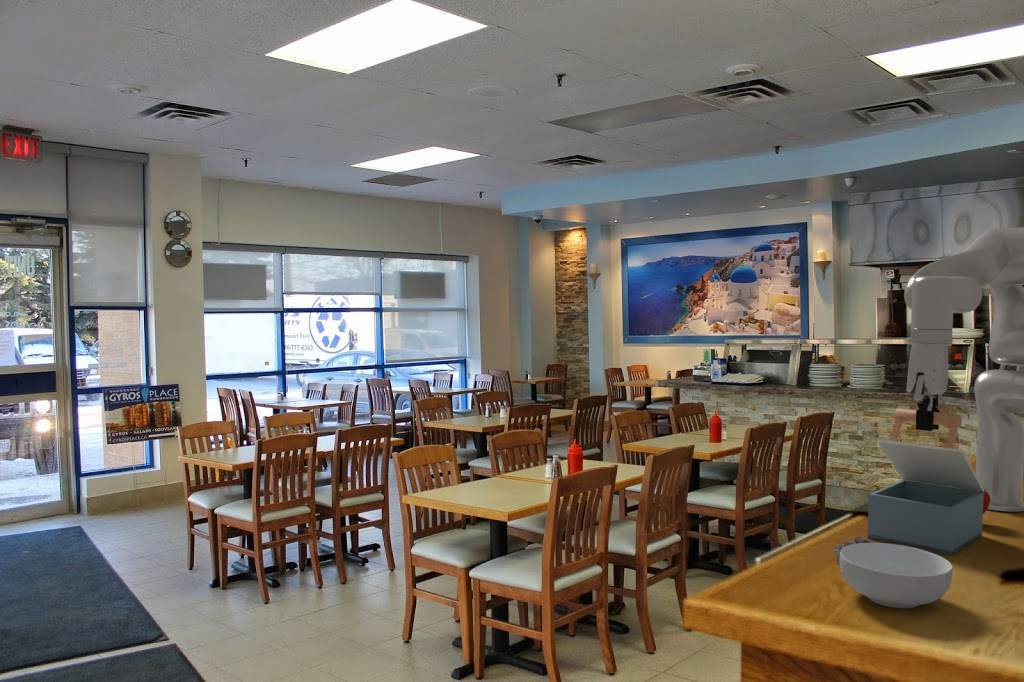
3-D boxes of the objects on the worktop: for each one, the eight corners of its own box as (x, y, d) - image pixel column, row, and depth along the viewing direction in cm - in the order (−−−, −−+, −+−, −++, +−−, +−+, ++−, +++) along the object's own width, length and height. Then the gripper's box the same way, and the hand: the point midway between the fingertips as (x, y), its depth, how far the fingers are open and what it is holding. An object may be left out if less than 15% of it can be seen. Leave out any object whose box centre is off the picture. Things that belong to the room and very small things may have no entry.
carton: (901, 520, 187) (902, 479, 186) (981, 535, 176) (983, 492, 175) (867, 537, 174) (868, 494, 174) (951, 555, 163) (953, 508, 162)
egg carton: (868, 576, 153) (868, 553, 152) (828, 565, 158) (829, 543, 158) (896, 563, 159) (897, 541, 159) (857, 553, 165) (858, 532, 165)
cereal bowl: (896, 626, 129) (898, 580, 129) (816, 590, 145) (817, 549, 144) (975, 609, 136) (977, 566, 136) (891, 576, 151) (892, 537, 151)
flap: (902, 479, 186) (912, 445, 189) (983, 492, 175) (992, 455, 178) (876, 441, 175) (886, 405, 178) (961, 452, 164) (970, 413, 167)
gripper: (925, 336, 180) (922, 423, 181) (896, 338, 169) (892, 431, 170) (964, 338, 175) (960, 427, 176) (936, 340, 163) (932, 436, 165)
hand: (927, 428), depth 173 cm, fingers closed on flap, 2 cm apart
